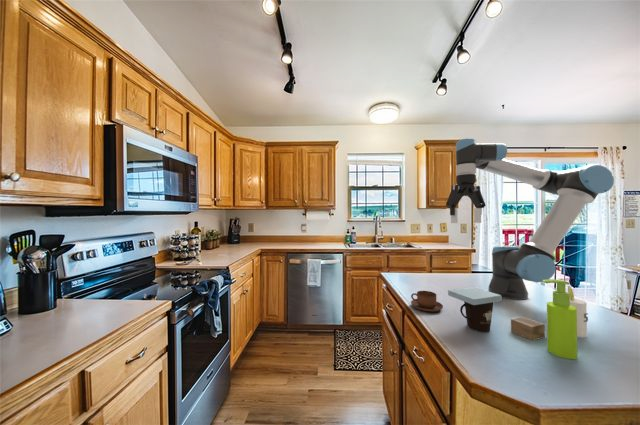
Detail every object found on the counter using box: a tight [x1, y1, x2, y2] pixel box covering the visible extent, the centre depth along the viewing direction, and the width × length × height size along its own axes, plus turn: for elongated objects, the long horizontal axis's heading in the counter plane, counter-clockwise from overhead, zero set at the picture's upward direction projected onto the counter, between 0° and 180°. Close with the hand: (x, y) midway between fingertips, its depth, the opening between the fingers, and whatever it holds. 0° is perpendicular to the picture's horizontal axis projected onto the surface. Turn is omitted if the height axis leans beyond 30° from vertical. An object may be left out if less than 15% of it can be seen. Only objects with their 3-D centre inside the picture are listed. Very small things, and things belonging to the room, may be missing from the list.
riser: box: [510, 316, 546, 341], centre depth 78 cm, size 6×6×4 cm
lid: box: [447, 286, 502, 305], centre depth 83 cm, size 12×10×2 cm
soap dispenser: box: [542, 278, 578, 360], centre depth 68 cm, size 6×7×20 cm
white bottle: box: [567, 285, 589, 338], centre depth 79 cm, size 6×6×15 cm
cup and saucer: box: [410, 290, 444, 312], centre depth 101 cm, size 12×12×6 cm
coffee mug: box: [459, 301, 495, 333], centre depth 83 cm, size 12×9×10 cm
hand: (466, 223), depth 107 cm, fingers open, 13 cm apart
